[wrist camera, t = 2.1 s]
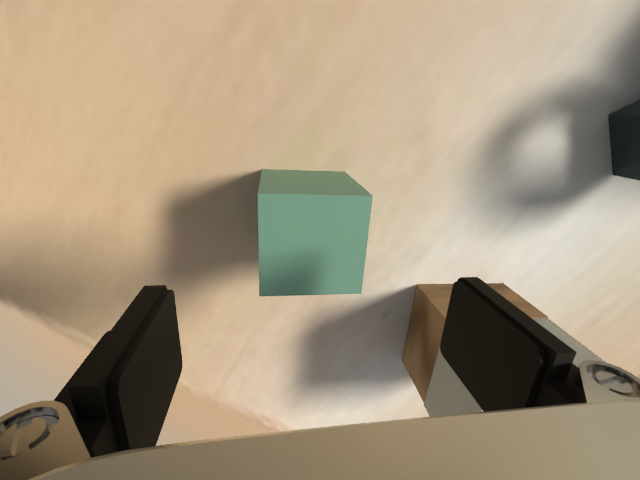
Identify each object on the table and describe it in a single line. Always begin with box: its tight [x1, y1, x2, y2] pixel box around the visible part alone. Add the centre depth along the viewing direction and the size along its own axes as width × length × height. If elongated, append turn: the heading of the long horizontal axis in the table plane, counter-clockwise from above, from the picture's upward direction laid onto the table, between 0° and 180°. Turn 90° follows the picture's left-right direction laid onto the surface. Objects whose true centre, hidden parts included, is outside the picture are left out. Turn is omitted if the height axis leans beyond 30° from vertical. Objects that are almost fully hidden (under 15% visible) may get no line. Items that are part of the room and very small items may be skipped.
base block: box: [402, 283, 548, 402], centre depth 23 cm, size 7×7×4 cm
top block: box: [424, 318, 606, 417], centre depth 19 cm, size 7×7×4 cm
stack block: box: [258, 169, 372, 296], centre depth 17 cm, size 5×5×6 cm
